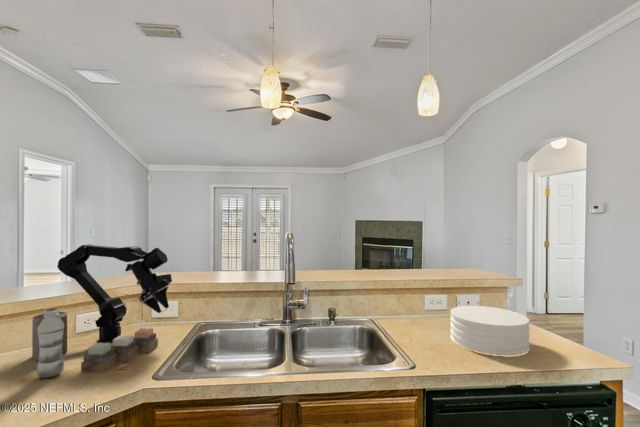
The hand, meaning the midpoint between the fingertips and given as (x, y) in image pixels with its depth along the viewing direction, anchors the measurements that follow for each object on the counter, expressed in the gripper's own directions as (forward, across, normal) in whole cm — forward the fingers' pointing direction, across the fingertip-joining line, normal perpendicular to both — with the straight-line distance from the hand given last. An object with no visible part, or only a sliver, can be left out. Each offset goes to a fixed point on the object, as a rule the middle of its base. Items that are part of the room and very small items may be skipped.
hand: (163, 310), depth 136 cm
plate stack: (+76, -72, -74) cm, 128 cm away
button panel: (+7, -2, +20) cm, 21 cm away
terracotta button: (+5, -1, +11) cm, 12 cm away
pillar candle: (-6, +16, +34) cm, 38 cm away
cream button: (+4, -4, +18) cm, 19 cm away
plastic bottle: (+1, -3, +38) cm, 38 cm away
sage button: (+2, -7, +26) cm, 27 cm away
